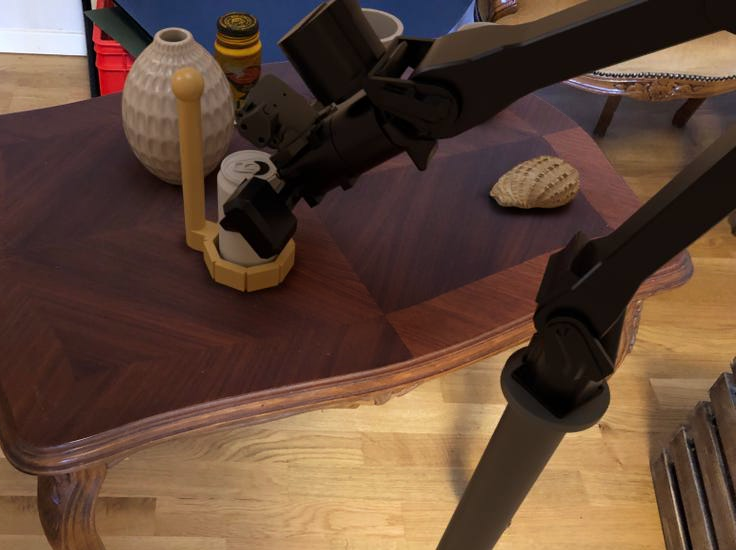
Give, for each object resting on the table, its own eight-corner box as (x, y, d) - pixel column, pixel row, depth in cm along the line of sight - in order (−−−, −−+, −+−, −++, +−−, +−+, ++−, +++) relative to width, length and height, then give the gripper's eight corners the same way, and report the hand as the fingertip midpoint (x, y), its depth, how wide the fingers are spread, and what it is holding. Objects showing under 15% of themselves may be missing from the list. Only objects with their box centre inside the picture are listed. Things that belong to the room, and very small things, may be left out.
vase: (247, 193, 84) (249, 57, 72) (140, 210, 82) (122, 72, 69) (220, 134, 92) (217, 2, 79) (121, 148, 90) (102, 14, 77)
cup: (385, 136, 93) (402, 46, 84) (316, 128, 94) (325, 38, 84) (388, 99, 99) (404, 12, 89) (323, 93, 99) (332, 5, 90)
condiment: (247, 128, 93) (248, 38, 84) (192, 110, 96) (187, 21, 87) (272, 103, 97) (276, 14, 88) (219, 86, 100) (217, -2, 91)
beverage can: (278, 281, 75) (284, 187, 66) (217, 279, 75) (215, 185, 66) (278, 241, 79) (284, 147, 70) (221, 239, 79) (218, 145, 70)
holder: (304, 248, 78) (321, 76, 63) (269, 301, 73) (278, 127, 58) (204, 214, 82) (197, 43, 66) (163, 262, 76) (145, 89, 61)
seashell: (528, 246, 84) (591, 190, 84) (528, 217, 78) (595, 158, 79) (480, 211, 88) (540, 158, 88) (477, 182, 82) (541, 125, 83)
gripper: (338, 15, 63) (230, 98, 75) (245, 116, 52) (134, 195, 64) (406, 118, 67) (293, 182, 79) (332, 231, 56) (213, 286, 68)
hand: (237, 207), depth 72 cm, fingers closed on beverage can, 6 cm apart
